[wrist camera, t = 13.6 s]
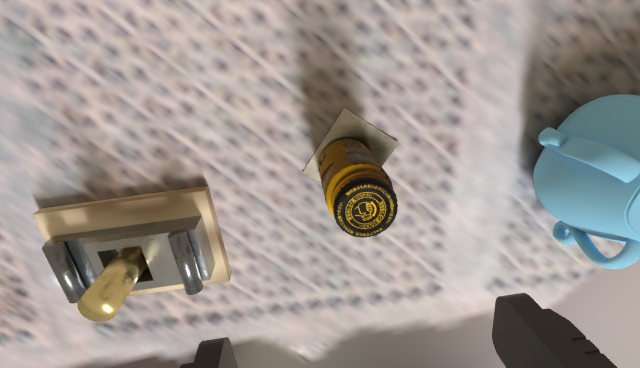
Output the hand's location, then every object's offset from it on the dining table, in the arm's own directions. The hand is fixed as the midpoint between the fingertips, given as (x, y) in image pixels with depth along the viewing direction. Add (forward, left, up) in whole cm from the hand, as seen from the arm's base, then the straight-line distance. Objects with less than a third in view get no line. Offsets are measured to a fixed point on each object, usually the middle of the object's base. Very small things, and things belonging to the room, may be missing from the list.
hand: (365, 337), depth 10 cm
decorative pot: (+8, +32, -28) cm, 44 cm away
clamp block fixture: (+11, -21, -28) cm, 37 cm away
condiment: (+4, +4, -28) cm, 29 cm away
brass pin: (+11, -21, -27) cm, 36 cm away
